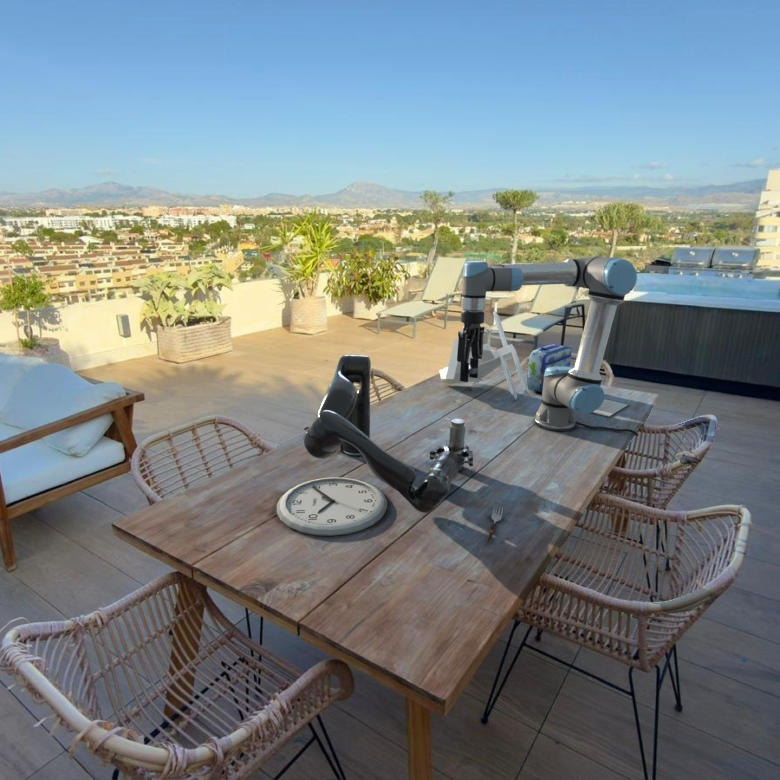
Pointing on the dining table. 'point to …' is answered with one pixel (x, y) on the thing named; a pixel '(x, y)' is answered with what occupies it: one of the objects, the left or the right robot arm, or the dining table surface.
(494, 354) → the white plastic object
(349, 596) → the dining table surface
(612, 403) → the invitation card
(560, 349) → the lunch box
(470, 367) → the lid
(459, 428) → the jar
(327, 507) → the wall clock
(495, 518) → the fork
